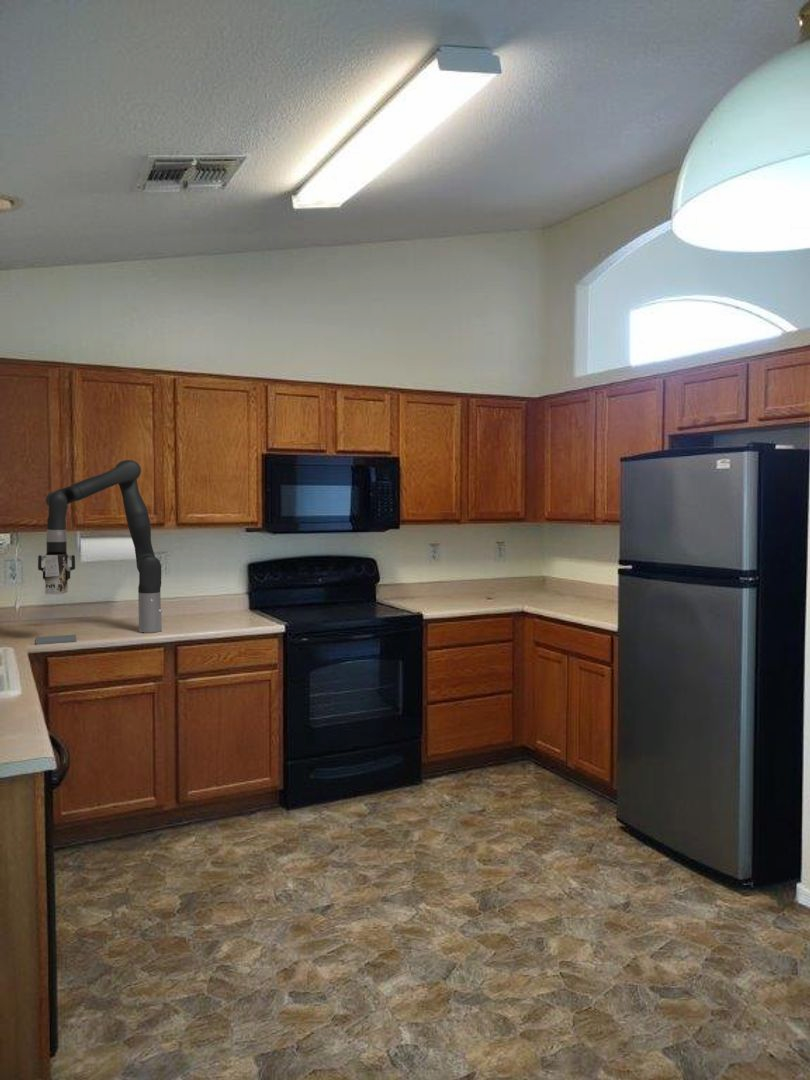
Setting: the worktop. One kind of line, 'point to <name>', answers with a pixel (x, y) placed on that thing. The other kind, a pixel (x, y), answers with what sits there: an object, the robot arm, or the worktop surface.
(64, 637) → the mat
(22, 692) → the worktop surface
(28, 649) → the worktop surface
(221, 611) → the worktop surface
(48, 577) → the coffee box
